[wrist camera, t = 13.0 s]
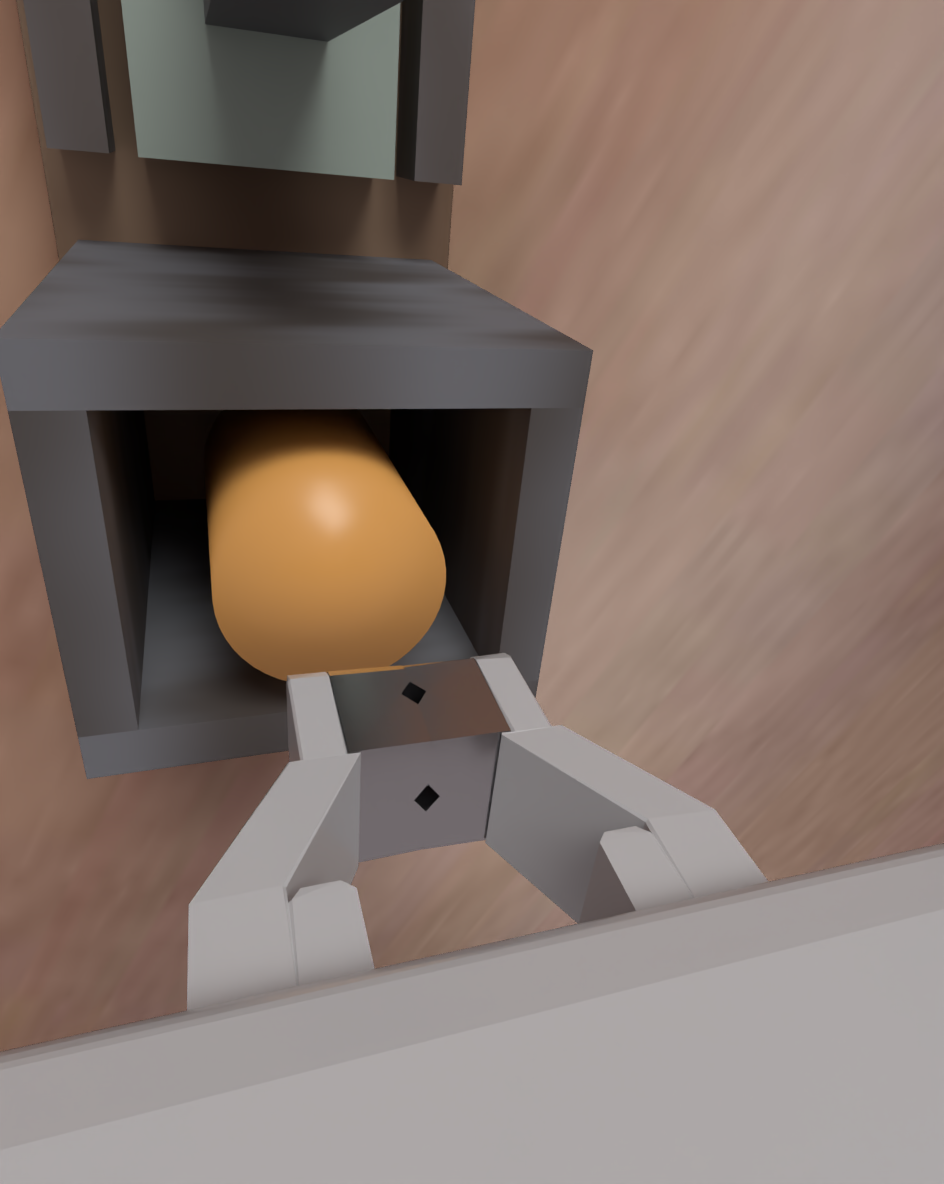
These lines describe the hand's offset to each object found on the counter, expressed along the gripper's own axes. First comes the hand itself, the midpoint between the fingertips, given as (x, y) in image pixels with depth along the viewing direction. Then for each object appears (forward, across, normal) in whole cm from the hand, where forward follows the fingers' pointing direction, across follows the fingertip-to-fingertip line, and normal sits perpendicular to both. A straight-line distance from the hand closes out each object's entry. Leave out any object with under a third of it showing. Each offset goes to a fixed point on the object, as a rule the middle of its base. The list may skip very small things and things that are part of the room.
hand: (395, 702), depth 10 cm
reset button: (+9, 0, 0) cm, 9 cm away
